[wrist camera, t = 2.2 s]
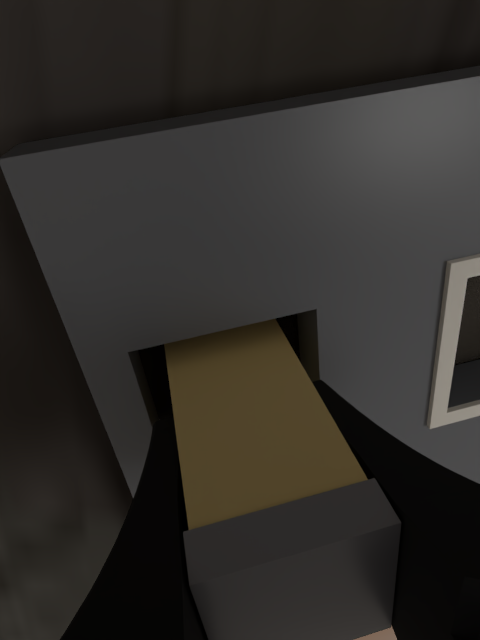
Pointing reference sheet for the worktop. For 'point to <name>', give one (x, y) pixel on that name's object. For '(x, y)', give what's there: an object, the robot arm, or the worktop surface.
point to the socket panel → (274, 248)
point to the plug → (275, 497)
